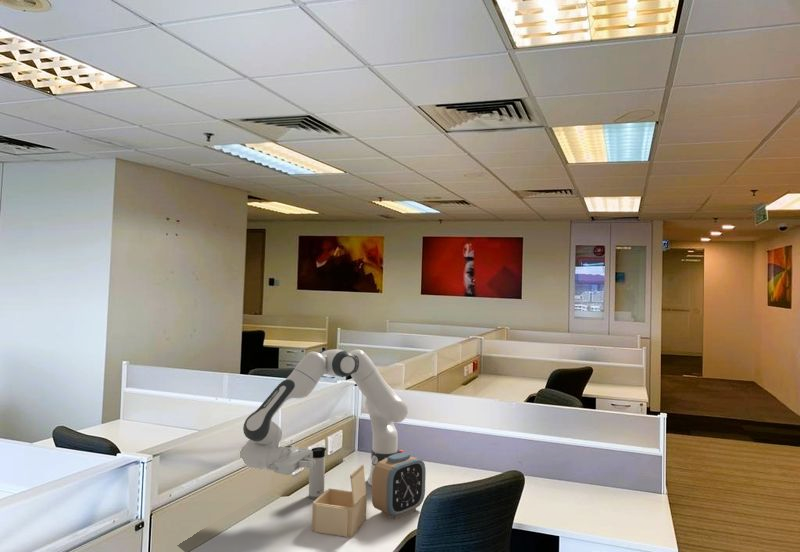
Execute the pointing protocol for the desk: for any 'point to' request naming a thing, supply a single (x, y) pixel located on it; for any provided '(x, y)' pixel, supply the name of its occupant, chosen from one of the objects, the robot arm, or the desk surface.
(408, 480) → the alarm clock
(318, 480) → the travel mug
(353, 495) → the flap
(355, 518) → the carton
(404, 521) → the desk surface
